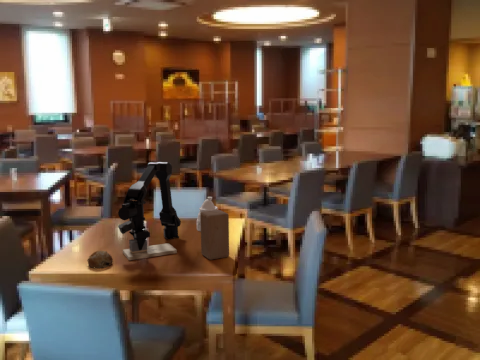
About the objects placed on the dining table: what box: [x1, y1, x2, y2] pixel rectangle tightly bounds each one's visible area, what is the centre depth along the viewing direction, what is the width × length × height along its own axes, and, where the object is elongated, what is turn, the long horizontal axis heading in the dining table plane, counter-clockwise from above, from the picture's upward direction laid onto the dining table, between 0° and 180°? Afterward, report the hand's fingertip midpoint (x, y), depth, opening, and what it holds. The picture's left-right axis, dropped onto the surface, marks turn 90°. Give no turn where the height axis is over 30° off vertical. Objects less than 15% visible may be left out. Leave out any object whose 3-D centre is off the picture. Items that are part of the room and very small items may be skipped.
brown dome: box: [87, 250, 114, 269], centre depth 204 cm, size 10×10×8 cm
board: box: [122, 243, 178, 261], centre depth 219 cm, size 22×12×2 cm, turn 116°
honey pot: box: [196, 196, 219, 233], centre depth 258 cm, size 13×13×18 cm
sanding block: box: [128, 238, 148, 253], centre depth 216 cm, size 7×4×5 cm, turn 116°
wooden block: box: [200, 209, 230, 261], centre depth 213 cm, size 10×10×20 cm
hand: (138, 248), depth 217 cm, fingers closed on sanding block, 4 cm apart
